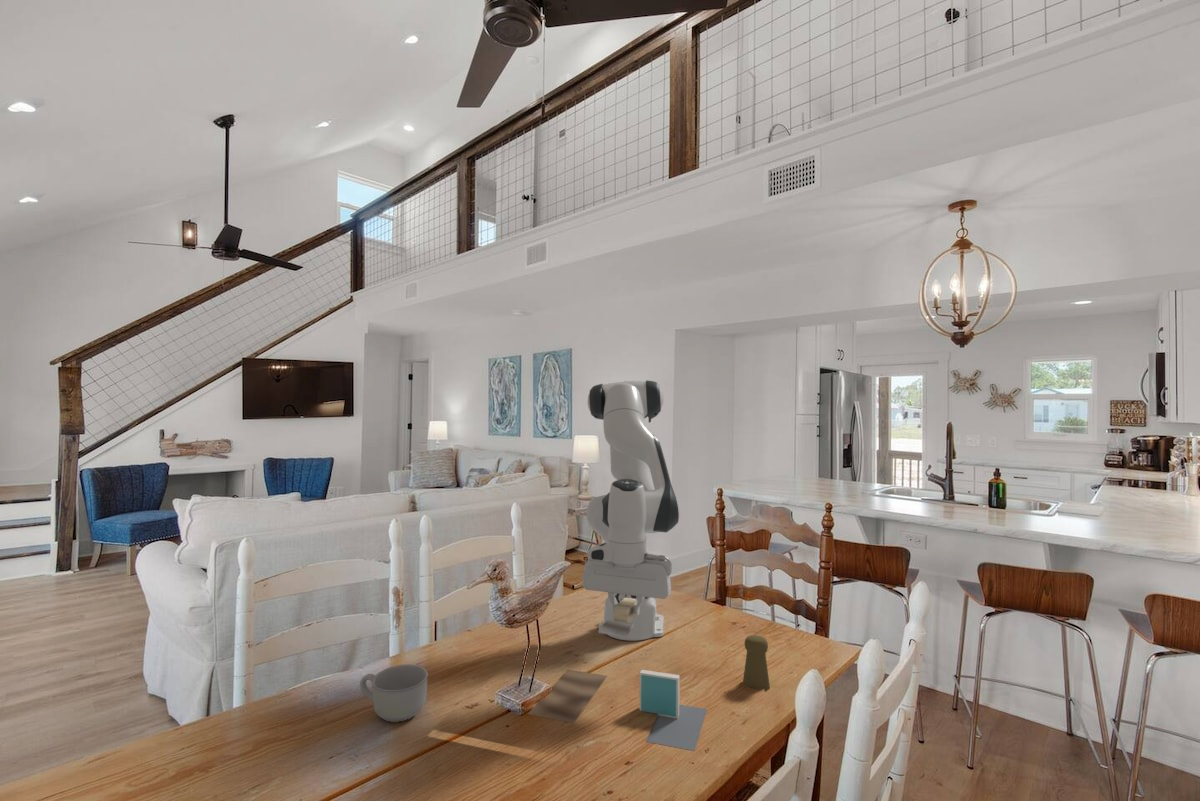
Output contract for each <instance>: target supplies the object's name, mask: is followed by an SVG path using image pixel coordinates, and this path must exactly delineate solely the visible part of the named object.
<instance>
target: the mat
mask: <svg viewBox="0 0 1200 801" xmlns="http://www.w3.org/2000/svg"><path fill="white" fill-rule="evenodd" d="M707 710H708V709H707V708H702V707H697V706H689V705H684V704H679V717H678V719H677V718H671V717H665V716H660V715H658V714H657V716H656V718H655V720H654V723H653V724H652V727H651V729H650V731H649V733H648V736H647V738H646V740H645V743H651V744H654V745H655V744H656V745H660V746H665V747H669V748H670V747H671V748H677V749H682V750H686V751H692V752H695V751H696V748H697V745H698V741H699V737H700V734H701V731H702V729H703V724H704V720H705V717H706V713H707Z"/></svg>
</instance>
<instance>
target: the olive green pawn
mask: <svg viewBox="0 0 1200 801" xmlns="http://www.w3.org/2000/svg"><path fill="white" fill-rule="evenodd" d="M744 648H745V650H746V656H745V664H744V671H743V679H742V683H743V685H744V686H747V687H749V688H752V689H757V690H758V689H760V690H764V692H766V691H769V690H770V688H771V686H770V678H769V670H768V663H767V655H766V653H767V651H768V648H769V643H768V641H767V638H765V637H763V636H761V635H757V634H756V635H755V634H752V635H747V636H746V638H745V639H744Z"/></svg>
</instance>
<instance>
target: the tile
mask: <svg viewBox="0 0 1200 801" xmlns="http://www.w3.org/2000/svg"><path fill="white" fill-rule="evenodd" d="M680 679H681V677H680V675H679V674H674V673H669V672H662V671H661V672H660V671H654V670H647V669H641V670H640V672H639V711H640V712H641V711H642V712H647V713H651V714H653V713H654V714H657V716H658V715H660V716H665V717H671V718H677V719H678V717H679V705H680V698H681V697H680V696H681V695H680V693H681V692H680V690H681V689H680V686H681V683H680Z"/></svg>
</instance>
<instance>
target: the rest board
mask: <svg viewBox="0 0 1200 801" xmlns="http://www.w3.org/2000/svg"><path fill="white" fill-rule="evenodd" d="M607 677H608V675H603V674H598V673H592V672H585V671H580V670H573V669H567V670H565V671H564V673H563V674H562V675H561V676H560V677H559V678H558V680H557V681H556V682H555V683H554V684H553V685H552V686H551V687H552V690H551V693H550V694H549V695H547V696H546V697H545V698H543V699H542V698H541V699H540V700H538V702H537V703H536V704H535V705H534V707H532V709H531V710H530V711H529V712H527V715H528V716H534V717H539V718H544V719H545V718H546V719H549V720H553V721H554V720H555V721H559V722H560V721H561V722H566V723H571V724H574V723H575V722H576V721H577V719H578V718H579V716H580V715H581V714H582V713H583V711H584V709H585V708H586V707H587V706H588V704H589V702H590V701H591V700H592V698H593V697H594V696H595V694H596V693H597V691H598V690H599V689H600V687H601V686H602V684H603V683H604V681H605V680H606V678H607Z"/></svg>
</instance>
